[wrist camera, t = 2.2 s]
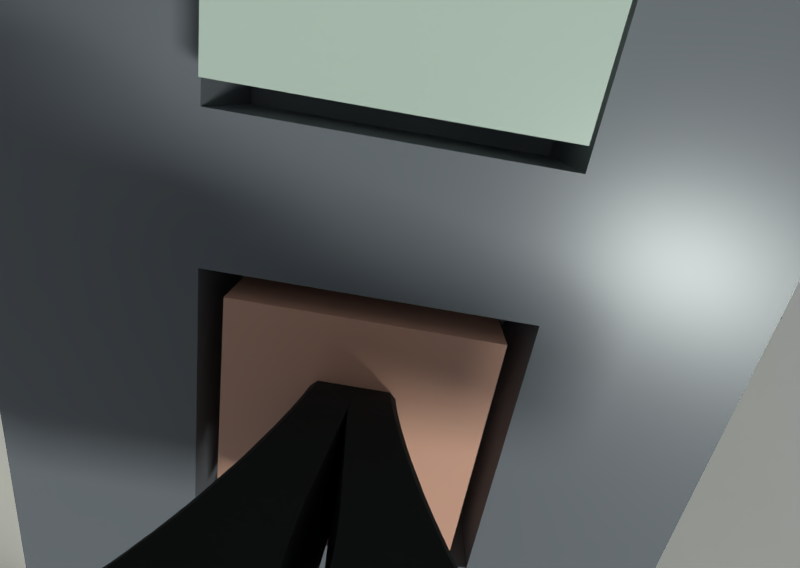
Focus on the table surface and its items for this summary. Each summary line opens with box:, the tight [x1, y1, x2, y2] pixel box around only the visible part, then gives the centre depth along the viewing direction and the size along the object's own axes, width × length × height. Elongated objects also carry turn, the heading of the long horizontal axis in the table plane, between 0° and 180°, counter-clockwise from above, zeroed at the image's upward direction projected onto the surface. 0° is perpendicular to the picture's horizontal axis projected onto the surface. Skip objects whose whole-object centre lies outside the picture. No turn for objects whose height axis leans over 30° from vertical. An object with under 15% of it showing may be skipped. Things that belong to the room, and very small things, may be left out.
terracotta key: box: [217, 276, 507, 550], centre depth 9 cm, size 4×4×2 cm
